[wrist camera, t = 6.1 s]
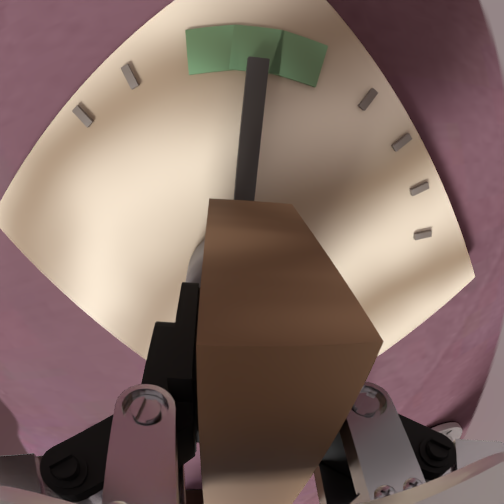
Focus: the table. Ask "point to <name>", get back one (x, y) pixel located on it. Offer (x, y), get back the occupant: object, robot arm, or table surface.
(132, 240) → the dial board
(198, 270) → the knob
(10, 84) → the table surface
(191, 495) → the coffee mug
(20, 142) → the table surface
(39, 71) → the table surface
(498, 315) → the table surface
